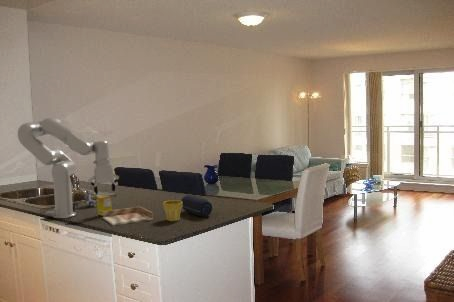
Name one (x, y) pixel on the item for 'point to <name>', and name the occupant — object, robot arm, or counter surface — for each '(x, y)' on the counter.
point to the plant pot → (173, 209)
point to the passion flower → (91, 198)
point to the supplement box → (104, 204)
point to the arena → (127, 215)
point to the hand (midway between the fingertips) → (105, 192)
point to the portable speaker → (197, 205)
